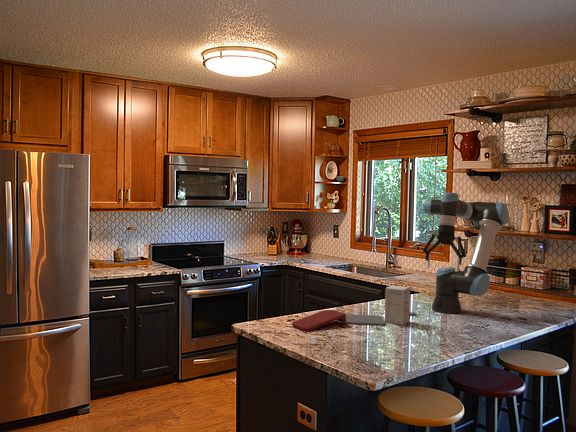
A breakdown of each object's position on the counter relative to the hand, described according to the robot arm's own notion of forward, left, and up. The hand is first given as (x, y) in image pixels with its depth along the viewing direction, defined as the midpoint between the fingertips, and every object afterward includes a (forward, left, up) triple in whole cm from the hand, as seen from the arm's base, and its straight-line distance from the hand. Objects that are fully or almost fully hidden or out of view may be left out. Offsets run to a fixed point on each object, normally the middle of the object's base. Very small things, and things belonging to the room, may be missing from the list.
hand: (442, 269), depth 246 cm
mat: (-2, -36, -26) cm, 45 cm away
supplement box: (-2, -20, -27) cm, 33 cm away
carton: (+11, -57, -26) cm, 63 cm away
